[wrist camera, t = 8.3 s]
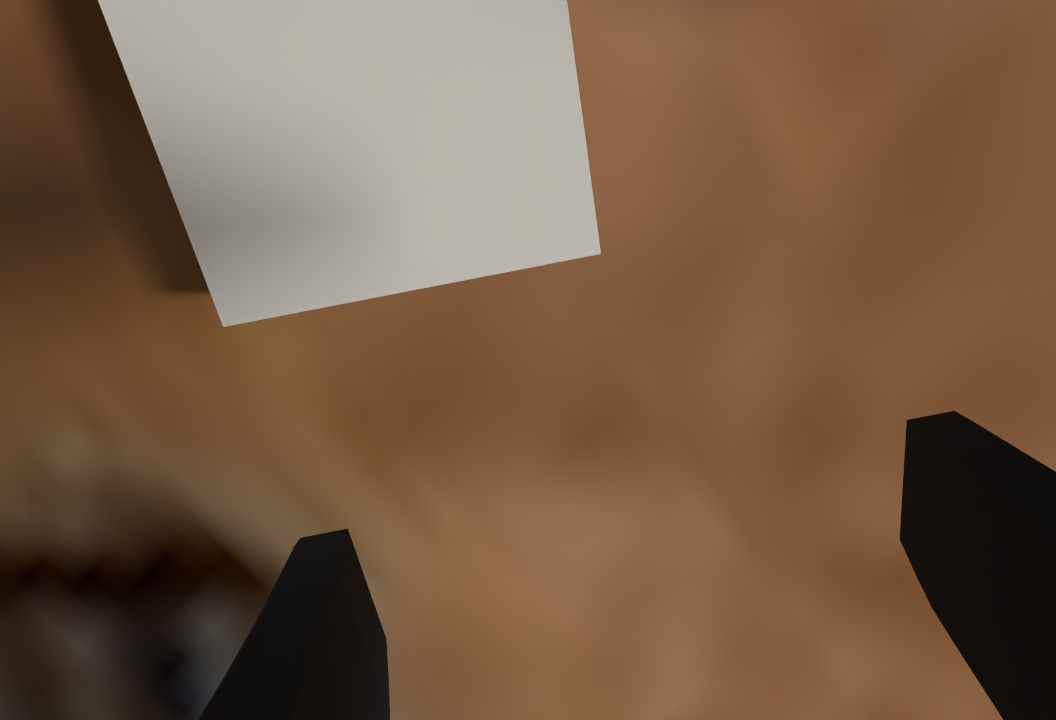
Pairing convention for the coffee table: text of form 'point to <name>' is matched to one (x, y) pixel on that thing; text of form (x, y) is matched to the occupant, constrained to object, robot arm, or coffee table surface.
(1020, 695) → the robot arm
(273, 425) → the coffee table surface
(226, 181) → the stand
